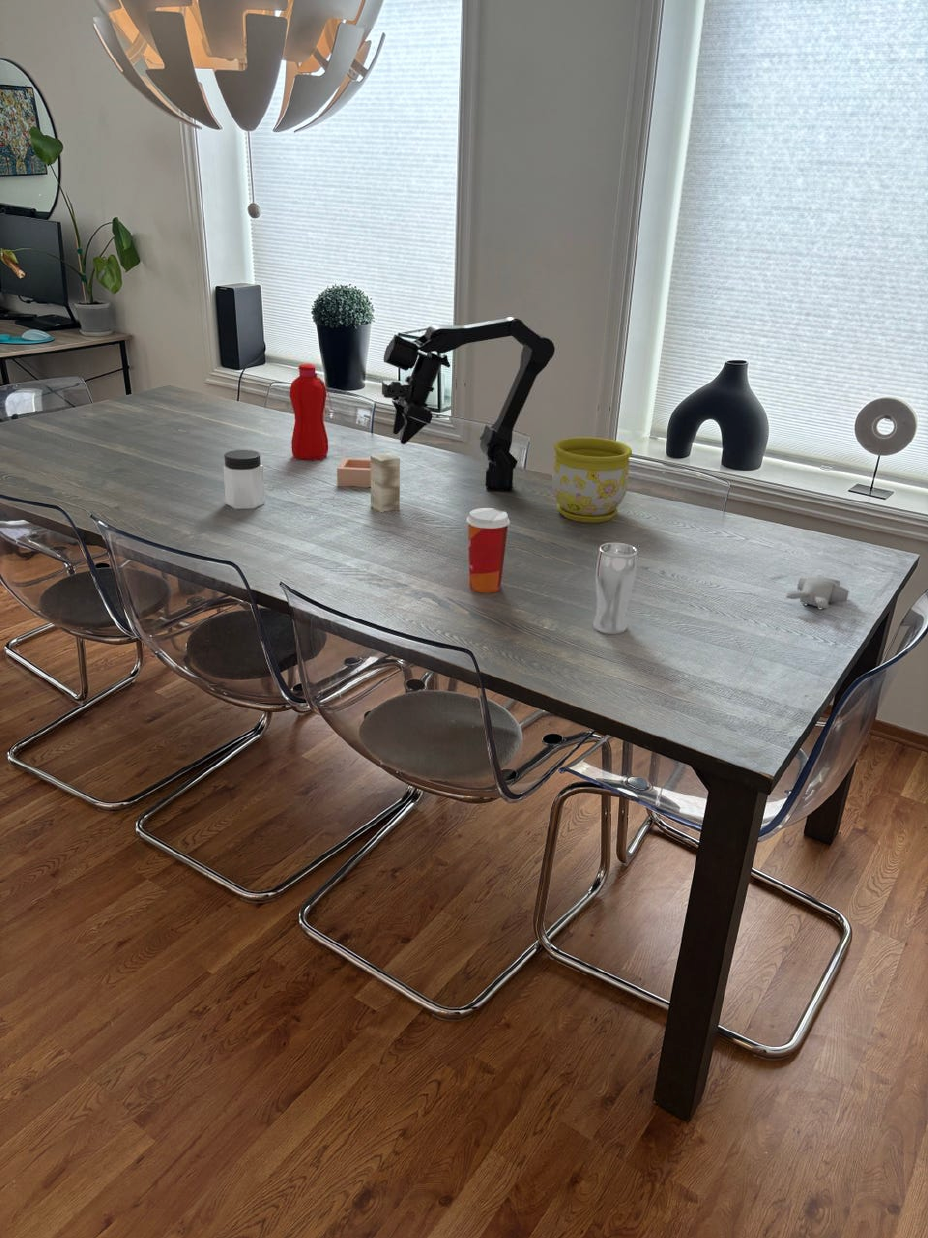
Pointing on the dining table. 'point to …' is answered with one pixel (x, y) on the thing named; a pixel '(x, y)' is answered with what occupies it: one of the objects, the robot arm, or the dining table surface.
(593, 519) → the flowerpot
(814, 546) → the dining table surface
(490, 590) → the coffee cup
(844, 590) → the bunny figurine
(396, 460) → the birch block
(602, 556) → the beer glass
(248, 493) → the jar
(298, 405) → the water bottle
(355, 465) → the socket
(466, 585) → the dining table surface
